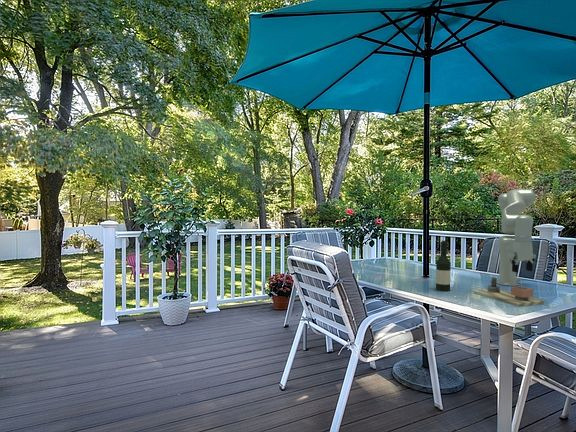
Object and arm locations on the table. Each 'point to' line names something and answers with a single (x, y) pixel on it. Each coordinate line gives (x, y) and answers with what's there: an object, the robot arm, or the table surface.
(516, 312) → the table surface
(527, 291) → the collar
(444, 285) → the wine bottle
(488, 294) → the board
